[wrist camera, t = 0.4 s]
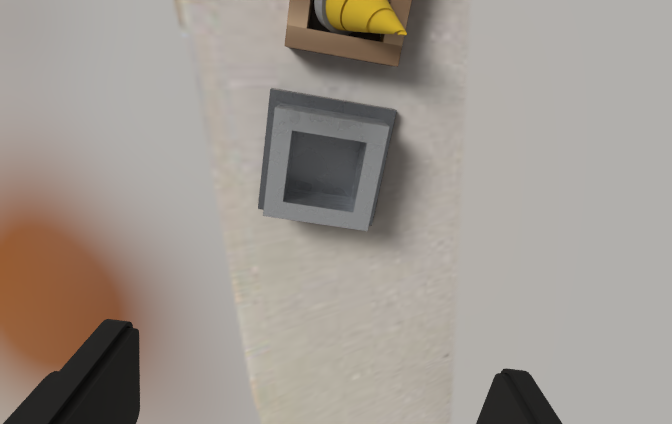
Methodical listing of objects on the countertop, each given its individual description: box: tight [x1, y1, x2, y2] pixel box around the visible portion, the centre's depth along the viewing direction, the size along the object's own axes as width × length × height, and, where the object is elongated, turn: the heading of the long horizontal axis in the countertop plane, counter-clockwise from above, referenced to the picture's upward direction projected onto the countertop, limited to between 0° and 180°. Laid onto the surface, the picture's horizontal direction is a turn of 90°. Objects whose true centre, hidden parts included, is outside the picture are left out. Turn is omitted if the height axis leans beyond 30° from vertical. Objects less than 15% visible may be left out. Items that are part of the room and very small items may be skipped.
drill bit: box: [314, 0, 407, 35], centre depth 29 cm, size 5×5×10 cm
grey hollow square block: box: [258, 88, 397, 231], centre depth 34 cm, size 11×11×5 cm
